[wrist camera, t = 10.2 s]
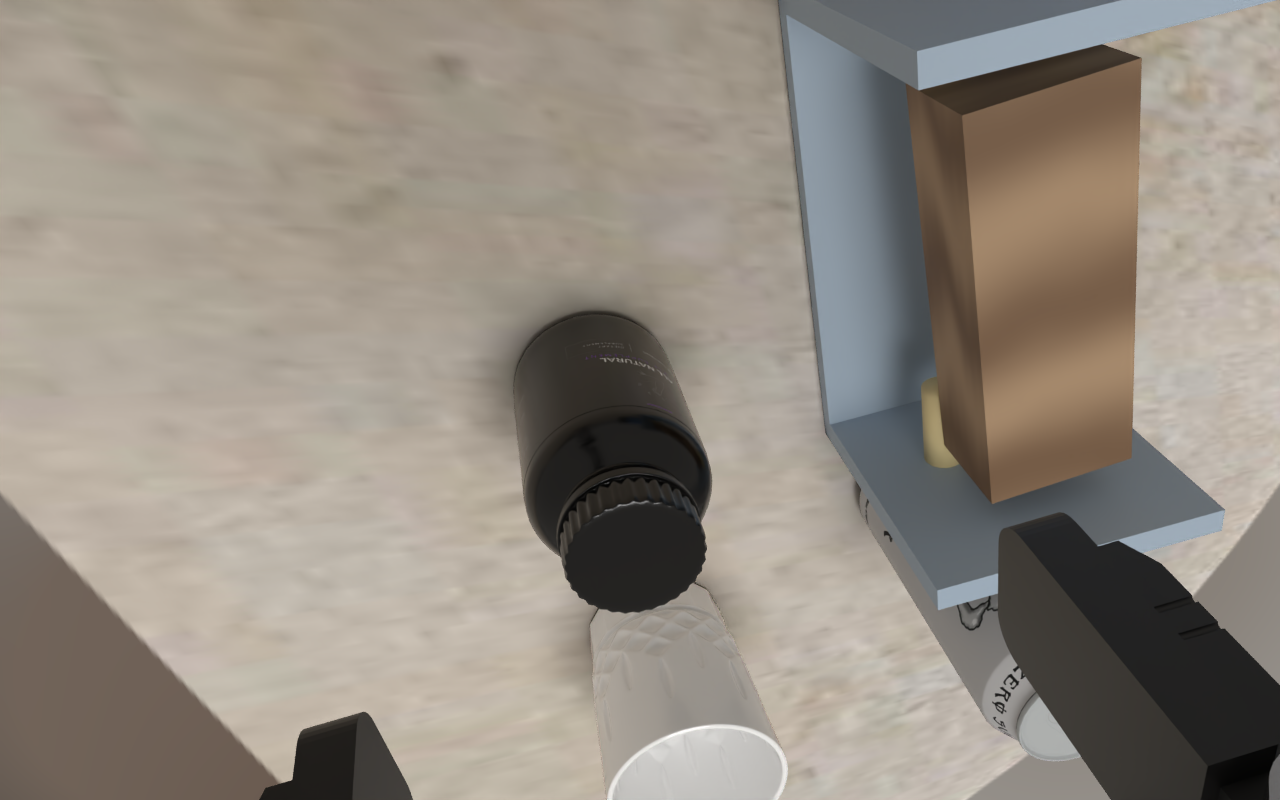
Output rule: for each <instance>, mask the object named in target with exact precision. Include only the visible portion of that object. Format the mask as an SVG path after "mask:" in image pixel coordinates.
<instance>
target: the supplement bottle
mask: <svg viewBox="0 0 1280 800" xmlns="http://www.w3.org/2000/svg"><path fill="white" fill-rule="evenodd" d="M513 393H514V409H515V418H516V428H517V437H518V447H519V456H520V466H521V475H522V485H523V494H524V501H525V506H526V511H527V515H528V518H529V521H530V523H531V525H532V527H533V529H534V531H535V532H536V534H537V536H538V537H539V538H540V539H541V541H542V542H543V543H544V544H545V545H546V546H547V547H548V548H549V549H550V550H552V551H553V552H554V553H555V554H557V555H558V556H560V557H561V559H562V565H563V568H564V573H565V577H566V579H567V580H568V581H569V582H570V587H571V589H572V590H574V591H576V592H577V594H578V596H579V598H581V599H584V600H586V602H587V603H588V604H589V605H595V606H596V607H597V608H599V609H602V610H608V611H610V612H612V613H613V612H621V613H624V614H627V613H630V612H635V613H640V612H642V611H644V610H653V609H654V608H656V607H658V606H662V605H665V604H667V603H668V602H669V601H670V600H674V599H676V598H677V597H678V596H679V595H680V594H681V593H683V592H685V591H687V589H688V588H689V586H690V585H691V584H692V583H694V582H695V581H696V578H697V575H698V574H699V573H700V572H701V571H702V564H703V563H704V562H705V560H706V558H705V552H706V550H707V545H706V542H705V532H704V530H703V527H702V524H701V521H702V519H703V517H704V515H705V513H706V510H707V508H708V505H709V501H710V497H711V491H712V474H711V468H710V464H709V461H708V457H707V454H706V451H705V449H704V446H703V444H702V441H701V439H700V436H699V434H698V431H697V429H696V426H695V424H694V421H693V419H692V416H691V414H690V411H689V409H688V406H687V404H686V401H685V399H684V396H683V394H682V391H681V389H680V386H679V384H678V381H677V379H676V376H675V374H674V371H673V369H672V367H671V365H670V362H669V360H668V358H667V356H666V354H665V352H664V350H663V349H662V347H661V345H660V344H659V343H658V341H657V340H656V339H655V338H654V337H653V336H652V335H651V334H650V333H649V332H647V331H646V330H645V329H643V328H642V327H640V326H639V325H637V324H635V323H633V322H631V321H629V320H626V319H623V318H620V317H616V316H612V315H603V314H593V315H583V316H578V317H574V318H570V319H567V320H564V321H562V322H560V323H558V324H556V325H554V326H552V327H550V328H549V329H547V330H546V331H545V332H543V333H542V334H541V335H540V336H538V337H537V338H536V339H535V340H534V341H533V342H532V344H531V345H530V346H529V347H528V349H527V350H526V352H525V353H524V355H523V356H522V358H521V360H520V362H519V365H518V367H517V370H516V374H515V379H514V390H513Z"/></svg>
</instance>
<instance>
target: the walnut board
mask: <svg viewBox="0 0 1280 800" xmlns="http://www.w3.org/2000/svg"><path fill="white" fill-rule="evenodd" d="M1141 61H1142V58H1140V57H1137V56H1134V55H1131V54H1128V53H1126V52H1123V51H1120V50H1117V49H1114V48H1111V47H1108V46H1105V45H1103V44H1101V45H1097V46H1093V47H1089V48H1085V49H1081V50H1077V51H1073V52H1069V53H1065V54H1061V55H1057V56H1053V57H1049V58H1045V59H1041V60H1037V61H1033V62H1029V63H1025V64H1021V65H1017V66H1013V67H1009V68H1006V69H1002V70H998V71H994V72H990V73H986V74H982V75H978V76H974V77H970V78H966V79H962V80H958V81H954V82H950V83H946V84H942V85H938V86H934V87H930V88H926V89H922V90H917V89H915V88H913V87H912V86H910V85H908V84H906V93H907V102H908V111H909V121H910V130H911V139H912V149H913V158H914V167H915V177H916V186H917V195H918V204H919V214H920V223H921V232H922V242H923V251H924V260H925V270H926V279H927V288H928V298H929V307H930V316H931V326H932V335H933V344H934V354H935V363H936V372H937V382H938V391H939V400H940V410H941V419H942V428H943V438H944V445H945V447H946V448H947V449H948V450H949V452H950V453H951V454H952V455H953V457H954V458H955V459H956V460H957V462H958V463H959V464H960V465H961V466H962V468H963V469H964V470H965V471H966V473H967V474H968V475H969V476H970V478H971V479H972V480H973V481H974V483H975V484H976V485H977V486H978V487H979V489H980V490H981V491H982V492H983V494H984V495H985V496H986V497H987V499H988V500H989V501H990V502H991V504H994V503H997V502H1000V501H1003V500H1006V499H1009V498H1012V497H1015V496H1018V495H1021V494H1024V493H1027V492H1030V491H1033V490H1036V489H1039V488H1042V487H1046V486H1049V485H1052V484H1055V483H1058V482H1061V481H1064V480H1067V479H1070V478H1073V477H1076V476H1079V475H1082V474H1085V473H1088V472H1091V471H1094V470H1097V469H1100V468H1103V467H1107V466H1110V465H1113V464H1116V463H1119V462H1122V461H1125V460H1128V459H1131V458H1132V422H1133V382H1134V342H1135V302H1136V262H1137V222H1138V182H1139V141H1140V101H1141Z"/></svg>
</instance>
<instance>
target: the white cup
mask: <svg viewBox="0 0 1280 800" xmlns="http://www.w3.org/2000/svg"><path fill="white" fill-rule="evenodd" d="M590 644H591V655H592V662H593V674H592V682H593V689H594V704H595V713H596V722H597V730H598V738H599V746H600V754H601V761H602V769H603V778H604V786H605V794H606V800H778V799H779V797H780V796H781V794H782V792H783V790H784V787H785V784H786V781H787V776H788V765H787V760H786V757H785V754H784V752H783V750H782V748H781V745H780V743H779V741H778V738H777V736H776V734H775V731H774V729H773V727H772V725H771V722H770V720H769V718H768V715H767V713H766V711H765V708H764V706H763V704H762V701H761V699H760V697H759V694H758V692H757V690H756V687H755V685H754V683H753V680H752V678H751V676H750V673H749V671H748V669H747V667H746V664H745V662H744V660H743V658H742V656H741V654H740V653H739V650H738V648H737V646H736V643H735V641H734V639H733V637H732V635H731V634H730V633H729V632H728V630H727V628H726V625H725V623H724V621H723V618H722V616H721V613H720V611H719V609H718V607H717V606H716V604H715V602H714V601H713V599H712V598H711V596H710V594H709V593H708V591H707V590H706V589H704V588H702V587H700V586H698V585H696V584H694V583H692V584H691V585H690V586H689V588H688V589H687V591H685V592H683V593H681V594H680V595H679V596H678V597H677V598H676V599H674V600H670V601H669V602H668V603H667V604H665V605H662V606H658V607H656V608H654V609H653V610H644V611H642V612H640V613H635V612H630V613H627V614H624V613H621V612H613V613H612V612H610V611H608V610H602V609H598V611H597V613H596V615H595V617H594V618H593V620H592V622H591V624H590Z"/></svg>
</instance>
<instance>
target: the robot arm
mask: <svg viewBox="0 0 1280 800" xmlns="http://www.w3.org/2000/svg"><path fill="white" fill-rule="evenodd" d="M998 619H999V624H1000V628H1001V632H1002V635H1003V638H1004V640H1005V643H1006V645H1007V648H1008V650H1009V652H1010V654H1011V655H1012V657H1013V659H1014V661H1015V662H1016V664H1017V665H1018V667H1019V668H1020V670H1021V671H1022V672H1023V674H1024V675H1025V677H1026V678H1027V680H1028V681H1029V682H1030V684H1031V685H1032V687H1033V688H1034V690H1035V691H1036V693H1037V694H1038V695H1039V697H1040V698H1041V700H1042V701H1043V703H1044V704H1045V705H1046V707H1047V708H1048V710H1049V711H1050V713H1051V714H1052V716H1053V717H1054V718H1055V720H1056V721H1057V723H1058V724H1059V726H1060V727H1061V729H1062V730H1063V731H1064V733H1065V734H1066V736H1067V737H1068V739H1069V740H1070V741H1071V743H1072V744H1073V746H1074V747H1075V749H1076V750H1077V752H1078V753H1079V754H1080V756H1081V757H1082V759H1083V760H1084V762H1085V763H1086V764H1087V766H1088V767H1089V769H1090V770H1091V772H1092V773H1093V774H1094V776H1095V777H1096V779H1097V780H1098V782H1099V783H1100V785H1101V786H1102V787H1103V789H1104V790H1105V792H1106V793H1107V795H1108V796H1109V797H1110V799H1111V800H1280V685H1279V684H1278V683H1277V682H1276V681H1275V680H1274V679H1273V678H1272V677H1271V676H1270V675H1269V674H1268V673H1267V672H1266V671H1265V670H1264V669H1263V668H1262V667H1261V666H1260V665H1259V663H1258V662H1257V661H1256V660H1254V658H1253V657H1252V656H1251V655H1250V654H1249V653H1248V652H1247V651H1246V650H1245V649H1244V648H1243V647H1242V646H1241V645H1240V644H1239V643H1238V642H1237V641H1236V640H1235V639H1234V638H1233V637H1232V636H1231V635H1230V634H1229V633H1228V632H1227V631H1226V630H1225V629H1220V627H1219V626H1218V621H1217V620H1216V619H1214V617H1213V616H1212V615H1211V614H1210V613H1209V612H1208V611H1207V610H1206V609H1205V608H1204V607H1203V606H1202V605H1201V604H1200V603H1199V602H1196V603H1195V602H1194V600H1193V598H1192V595H1191V594H1190V593H1189V592H1188V591H1187V590H1186V589H1185V588H1184V587H1183V586H1182V585H1181V584H1180V582H1179V581H1178V580H1177V579H1176V578H1175V577H1174V576H1173V575H1172V574H1171V573H1170V572H1169V571H1168V570H1167V569H1166V568H1165V567H1164V566H1163V565H1162V564H1161V563H1159V562H1157V561H1155V560H1154V559H1152V558H1150V557H1148V556H1146V555H1144V554H1142V553H1141V552H1139V551H1137V550H1135V549H1133V548H1131V547H1129V546H1128V545H1126V544H1124V543H1122V542H1120V541H1115V542H1111V543H1108V544H1104V545H1101V546H1097V545H1096V543H1095V542H1094V541H1093V540H1092V539H1091V538H1090V537H1089V536H1088V535H1087V534H1086V532H1085V531H1084V530H1083V529H1082V528H1081V527H1080V526H1079V525H1078V524H1077V523H1076V522H1075V521H1074V520H1073V519H1072V518H1071V517H1070V516H1069V515H1067V514H1065V513H1062V512H1058V513H1055V514H1051V515H1048V516H1044V517H1041V518H1037V519H1034V520H1030V521H1027V522H1024V523H1020V524H1017V525H1013V526H1010V527H1006V528H1003V529H1002V530H1001V532H1000V535H999V543H998ZM259 800H413V799H412V796H411V792H410V790H409V787H408V785H407V783H406V781H405V779H404V777H403V776H402V774H401V772H400V770H399V768H398V766H397V764H396V762H395V761H394V759H393V757H392V755H391V753H390V751H389V749H388V748H387V746H386V744H385V742H384V740H383V738H382V736H381V734H380V733H379V731H378V729H377V727H376V725H375V723H374V721H373V720H372V718H371V717H370V715H369V714H368V713H366V712H361V713H358V714H354V715H351V716H348V717H344V718H341V719H337V720H334V721H330V722H327V723H323V724H320V725H317V726H313V727H310V728H306V729H303V730H302V731H301V733H300V735H299V738H298V741H297V748H296V756H295V764H294V772H293V780H291V781H288V782H285V783H281V784H278V785H275V786H271V787H268V788H265V790H264V792H263V794H262V796H261V798H260V799H259Z"/></svg>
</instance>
